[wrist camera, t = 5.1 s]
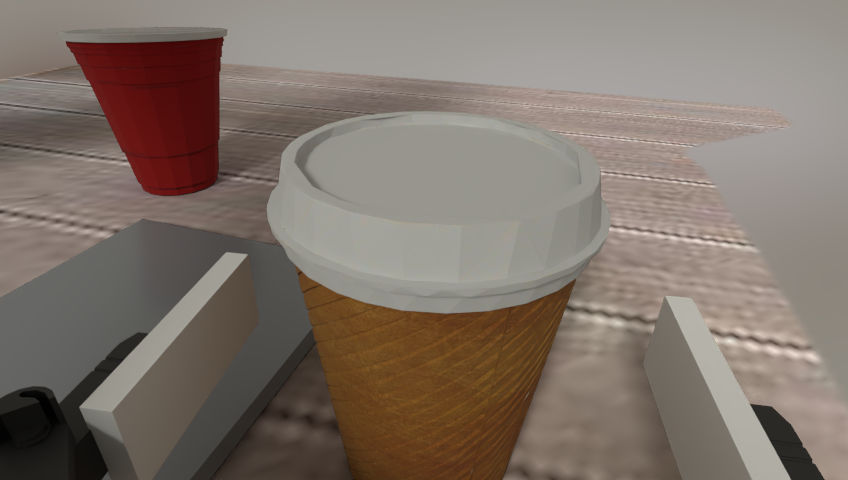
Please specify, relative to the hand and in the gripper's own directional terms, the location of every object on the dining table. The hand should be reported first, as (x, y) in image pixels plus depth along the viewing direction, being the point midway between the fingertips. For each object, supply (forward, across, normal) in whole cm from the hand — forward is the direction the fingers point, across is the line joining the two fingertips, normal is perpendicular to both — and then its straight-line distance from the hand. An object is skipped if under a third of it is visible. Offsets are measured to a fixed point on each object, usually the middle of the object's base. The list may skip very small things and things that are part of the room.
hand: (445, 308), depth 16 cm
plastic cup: (+22, -24, -7) cm, 34 cm away
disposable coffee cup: (0, 0, -7) cm, 7 cm away
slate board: (+5, -15, -7) cm, 17 cm away
